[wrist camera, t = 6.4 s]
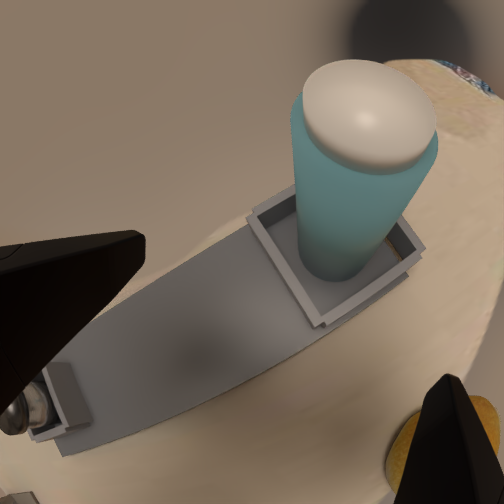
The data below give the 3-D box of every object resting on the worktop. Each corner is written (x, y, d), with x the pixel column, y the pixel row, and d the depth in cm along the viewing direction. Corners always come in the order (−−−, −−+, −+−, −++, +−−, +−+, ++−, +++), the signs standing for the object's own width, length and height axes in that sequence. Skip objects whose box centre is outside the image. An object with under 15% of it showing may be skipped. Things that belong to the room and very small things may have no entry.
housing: (341, 175, 22) (347, 144, 18) (413, 272, 19) (435, 255, 15) (33, 365, 21) (2, 363, 18) (69, 454, 18) (39, 463, 14)
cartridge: (378, 271, 19) (476, 154, 6) (308, 290, 19) (321, 185, 7) (355, 206, 20) (399, 49, 8) (289, 222, 20) (270, 64, 8)
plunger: (79, 427, 18) (24, 439, 12) (46, 424, 18) (-5, 431, 12) (68, 377, 19) (12, 376, 13) (37, 377, 19) (-15, 376, 14)
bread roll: (379, 419, 17) (396, 434, 13) (484, 382, 16) (514, 385, 12) (382, 511, 14) (395, 537, 10) (483, 472, 13) (507, 486, 9)
